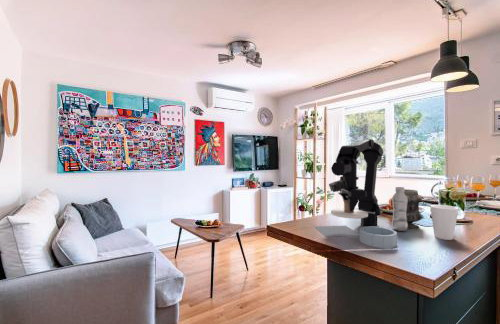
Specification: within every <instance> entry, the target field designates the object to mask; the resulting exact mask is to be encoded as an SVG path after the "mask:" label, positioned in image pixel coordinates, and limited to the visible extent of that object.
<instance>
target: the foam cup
mask: <svg viewBox="0 0 500 324" xmlns="http://www.w3.org/2000/svg"><path fill="white" fill-rule="evenodd" d="M429 212H430V213H431V219H432V220H431V221H432V229H433V235H434V237H435V238H437V239H440V240H446V241H448V240H449V241H452V240H454V236H455V232H456V231H455V230H456V226H457V219H458V215H459V207H457V206H454V205H453V206H452V205H446V204H430V211H429Z"/></svg>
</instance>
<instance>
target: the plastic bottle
mask: <svg viewBox="0 0 500 324" xmlns="http://www.w3.org/2000/svg"><path fill="white" fill-rule="evenodd" d="M404 190H405V187H404V186H401V187H400V186H395V190H394V191H395V193H394V194H393V195H392V197H391V200H392V221H391V228H392V230H394V231H399V232H406V231H407V230H408V229H407V228H408V223H407V216H406V211H407V203H408V198H407V196H406V195H405V194H404V192H405V191H404Z"/></svg>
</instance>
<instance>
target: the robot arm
mask: <svg viewBox="0 0 500 324" xmlns="http://www.w3.org/2000/svg"><path fill="white" fill-rule="evenodd" d="M361 153H362V155H363V160H364V161H365V164H366V167H365V178H364V185H363V186H364V187H363V188H364V189H361V188H359V186H358V184H357V180H359V176H358V175H357V173H358V172H357V170H358V169H357V168H358V166H357V165H358V164H359V161H358V159H359V157H360V156H361ZM383 155H384V149H383V148H382V145H381V144H379V143H377V142H376V141H374V140H373V138H364V139H361V140H360V141H358V142H356V143H354V144H351V145H342V146H341V147H340V149H339V151H338V154H337V156H336V158H335V162H334V163H332V165H331V168H330V169H331V173H333V175H334V176H338V177H339V176H340V177H339V180H336V181H333V182H330V183H329V184H328V186H329V189H330V192H333V193H335V192H337V193H338V195H340V197H342V201H343V202H344V200H349V208H350V211H351V212H353V210H354V209H355V208H356V206H357V210H362V211H365V212H367V213H368V217H366V218H360V225H361V226H362V227H365V226H375V227H380V226H379V225H378V216H381V212H382V211H381V208H380V206H379V203H378V202H379V201H378V197H377V196H376V195H375V193H376V182H377V172H378V165H379V164H380V162H381V161H382V160H383V159H382V158H383Z"/></svg>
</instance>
